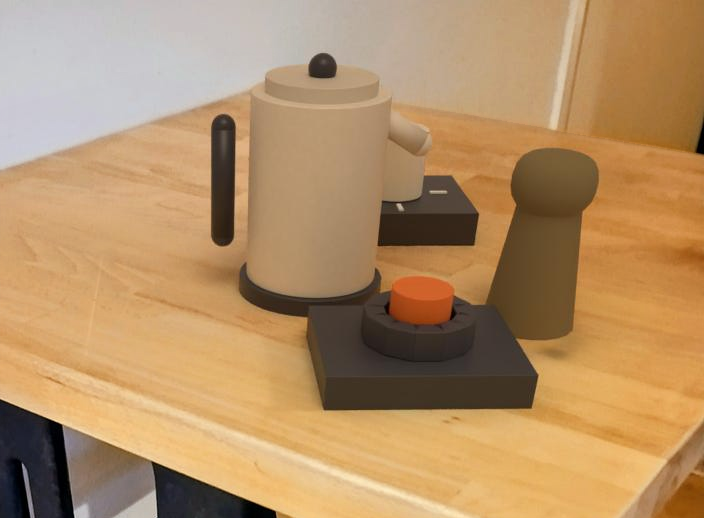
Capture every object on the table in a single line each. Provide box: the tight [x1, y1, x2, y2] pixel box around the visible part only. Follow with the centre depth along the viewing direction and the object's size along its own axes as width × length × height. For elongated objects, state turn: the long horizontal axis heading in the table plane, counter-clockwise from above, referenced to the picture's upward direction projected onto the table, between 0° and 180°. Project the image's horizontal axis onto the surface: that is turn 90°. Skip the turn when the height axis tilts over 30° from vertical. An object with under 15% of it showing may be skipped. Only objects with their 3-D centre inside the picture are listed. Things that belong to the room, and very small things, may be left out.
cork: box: [484, 147, 600, 341], centre depth 65 cm, size 6×6×11 cm
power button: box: [389, 275, 455, 324], centre depth 60 cm, size 4×4×2 cm
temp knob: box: [382, 121, 430, 202], centre depth 81 cm, size 5×5×5 cm
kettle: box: [210, 52, 434, 318], centre depth 68 cm, size 14×10×15 cm
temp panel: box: [377, 174, 480, 246], centre depth 83 cm, size 12×10×3 cm
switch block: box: [305, 289, 540, 412], centre depth 61 cm, size 12×10×4 cm
